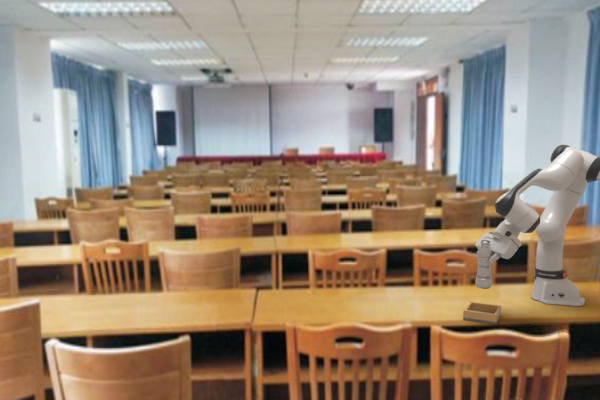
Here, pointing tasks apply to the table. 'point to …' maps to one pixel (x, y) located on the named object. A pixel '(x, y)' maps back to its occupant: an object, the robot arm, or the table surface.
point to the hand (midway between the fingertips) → (483, 260)
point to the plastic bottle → (484, 266)
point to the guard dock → (482, 312)
